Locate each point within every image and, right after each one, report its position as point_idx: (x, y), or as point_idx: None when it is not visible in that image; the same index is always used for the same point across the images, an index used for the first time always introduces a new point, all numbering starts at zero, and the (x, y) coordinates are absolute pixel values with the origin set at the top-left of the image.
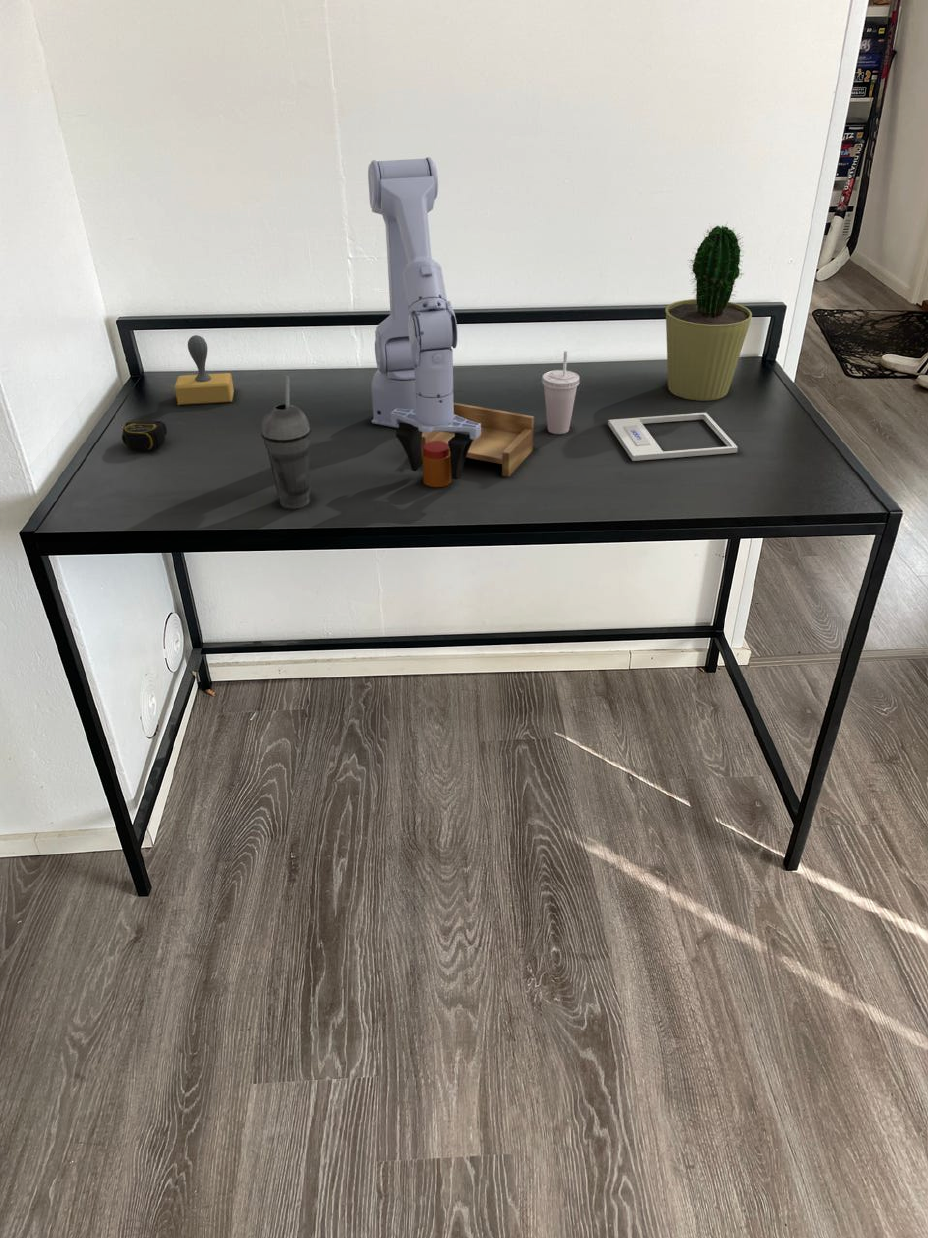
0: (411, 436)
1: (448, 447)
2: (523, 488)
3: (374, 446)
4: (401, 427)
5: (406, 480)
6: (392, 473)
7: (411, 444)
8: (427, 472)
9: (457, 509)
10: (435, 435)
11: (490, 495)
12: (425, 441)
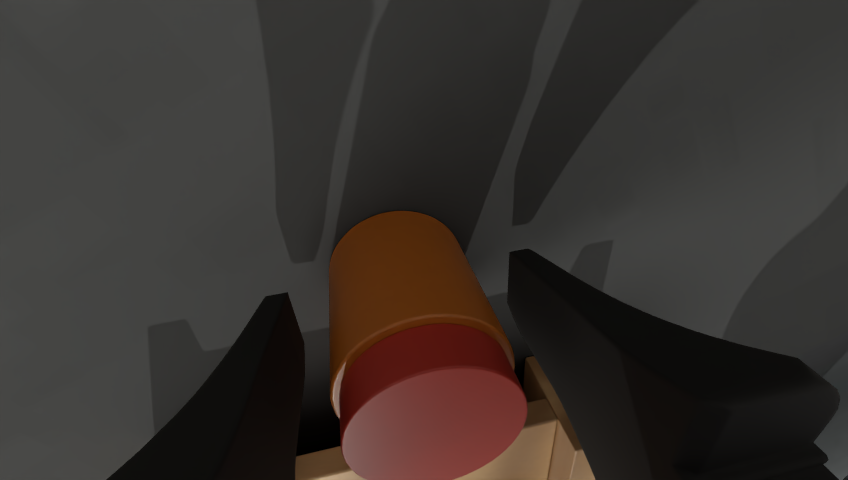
0: (657, 423)
1: (349, 465)
2: (6, 417)
3: (732, 332)
4: (800, 466)
5: (530, 199)
6: (614, 217)
7: (613, 359)
8: (423, 251)
9: (47, 61)
10: (548, 473)
11: (62, 299)
12: (564, 431)
